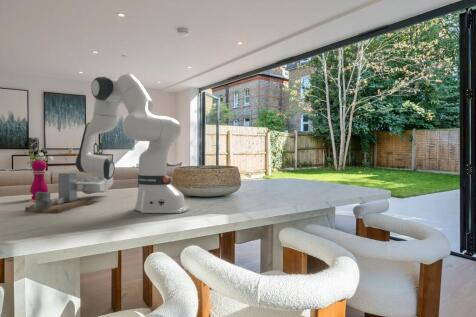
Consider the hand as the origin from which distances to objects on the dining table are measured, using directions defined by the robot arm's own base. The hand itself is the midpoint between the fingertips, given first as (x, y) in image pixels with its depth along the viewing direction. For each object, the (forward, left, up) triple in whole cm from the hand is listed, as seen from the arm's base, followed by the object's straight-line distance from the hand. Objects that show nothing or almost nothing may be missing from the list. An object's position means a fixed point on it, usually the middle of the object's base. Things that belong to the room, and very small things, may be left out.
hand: (71, 188), depth 144 cm
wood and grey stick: (+3, +15, -5) cm, 16 cm away
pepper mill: (+22, -8, -7) cm, 24 cm away
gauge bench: (0, +7, -7) cm, 10 cm away
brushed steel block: (0, +5, -5) cm, 7 cm away
